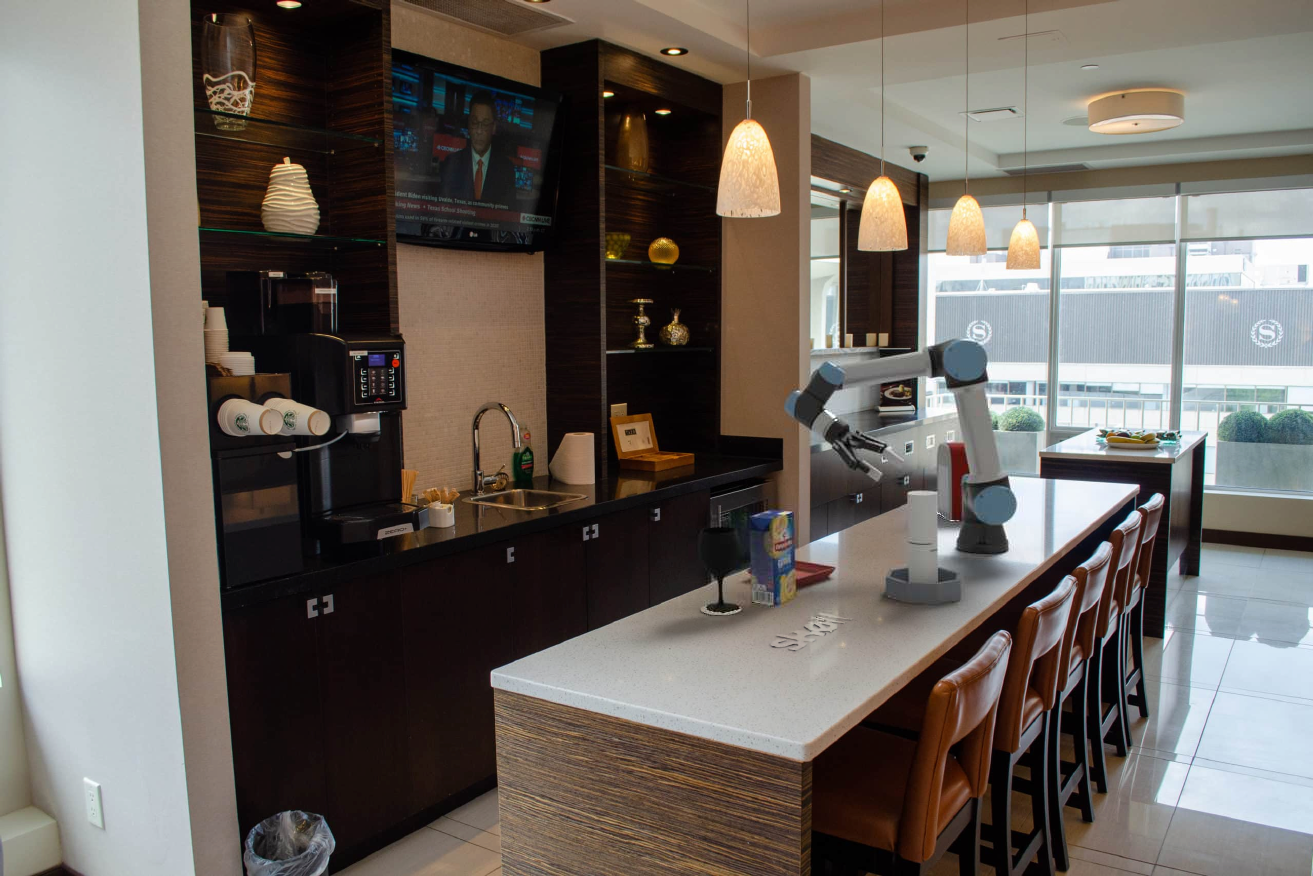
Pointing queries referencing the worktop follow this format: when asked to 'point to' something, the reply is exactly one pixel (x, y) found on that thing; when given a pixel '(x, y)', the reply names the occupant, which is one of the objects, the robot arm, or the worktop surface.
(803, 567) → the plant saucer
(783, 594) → the beverage box
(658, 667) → the worktop surface
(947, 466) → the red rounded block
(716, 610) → the wine glass
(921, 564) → the cylindrical container
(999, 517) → the robot arm
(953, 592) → the bowl
